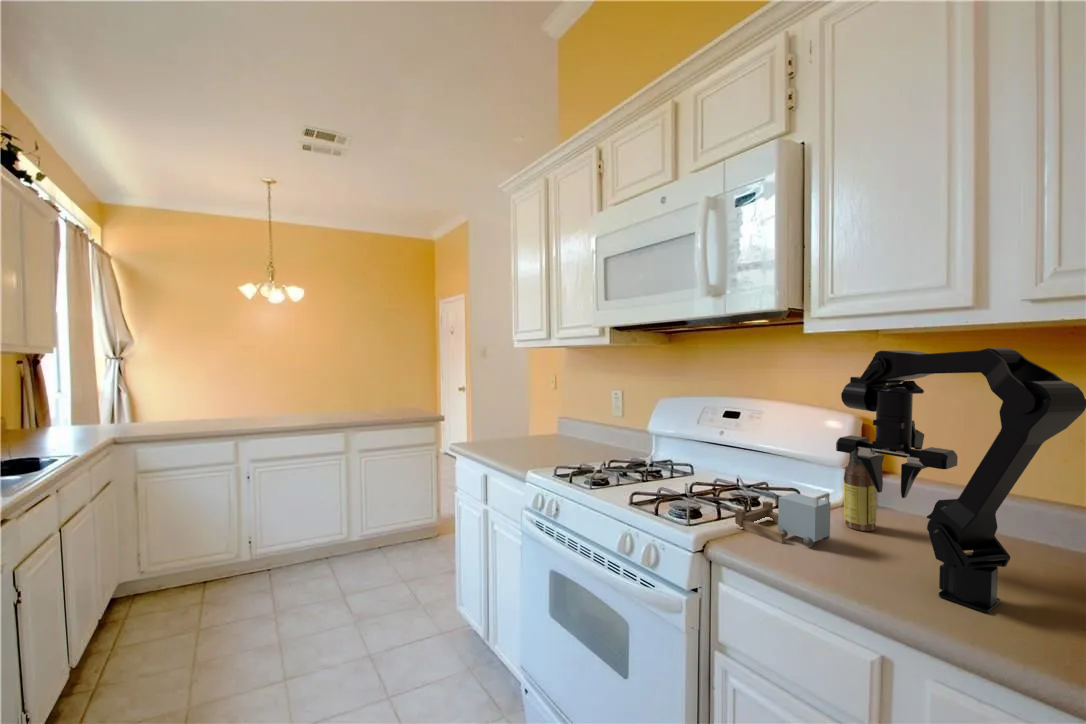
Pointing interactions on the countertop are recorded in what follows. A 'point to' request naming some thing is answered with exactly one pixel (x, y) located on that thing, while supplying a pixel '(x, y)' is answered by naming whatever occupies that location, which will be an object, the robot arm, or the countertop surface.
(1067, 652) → the countertop surface
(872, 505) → the sauce bottle
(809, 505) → the cart
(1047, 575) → the countertop surface
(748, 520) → the bay
